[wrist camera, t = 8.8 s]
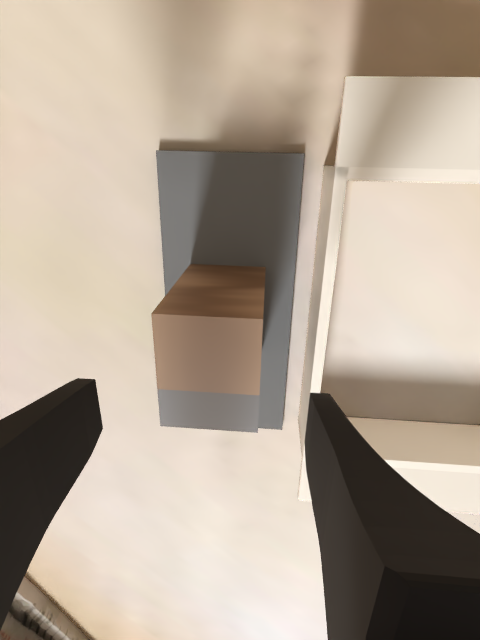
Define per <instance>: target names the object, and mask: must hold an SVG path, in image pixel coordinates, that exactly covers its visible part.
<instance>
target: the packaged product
mask: <svg viewBox="0 0 480 640" xmlns="http://www.w3.org/2000/svg"><path fill="white" fill-rule="evenodd" d="M0 640H89V639H88V638H87V637H86V636H85V635H84V634H83V633H82V632H81V631H80V630H79V629H78V628H77V627H76V626H75V625H74V624H73V623H72V622H71V621H70V620H69V619H68V618H67V617H66V616H65V615H64V614H63V613H62V612H61V611H60V610H59V609H58V608H57V607H56V606H55V605H54V604H53V603H52V602H51V601H50V600H49V599H48V598H47V597H46V596H45V595H44V594H43V593H42V592H41V591H40V590H39V589H38V588H37V587H36V586H35V585H34V584H32V583H31V582H30V581H29V580H28V579H27V578H26V577H25V576H24V578H23V580H22V582H21V584H20V587H19V589H18V591H17V593H16V595H15V598H14V600H13V602H12V605H11V607H10V609H9V612H8V614H7V616H6V619H5V621H4V624H3V626H2V628H1V631H0Z"/></svg>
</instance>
